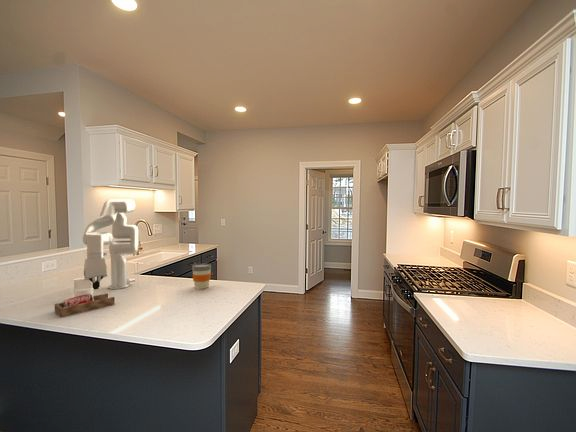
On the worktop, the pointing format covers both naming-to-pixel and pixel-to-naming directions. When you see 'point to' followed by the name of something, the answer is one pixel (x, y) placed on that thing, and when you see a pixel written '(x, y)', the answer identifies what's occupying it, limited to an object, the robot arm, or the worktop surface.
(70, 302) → the soda can
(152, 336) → the worktop surface
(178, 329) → the worktop surface
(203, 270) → the reusable coffee cup
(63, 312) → the u rest
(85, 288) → the cylinder with rectangular tab
